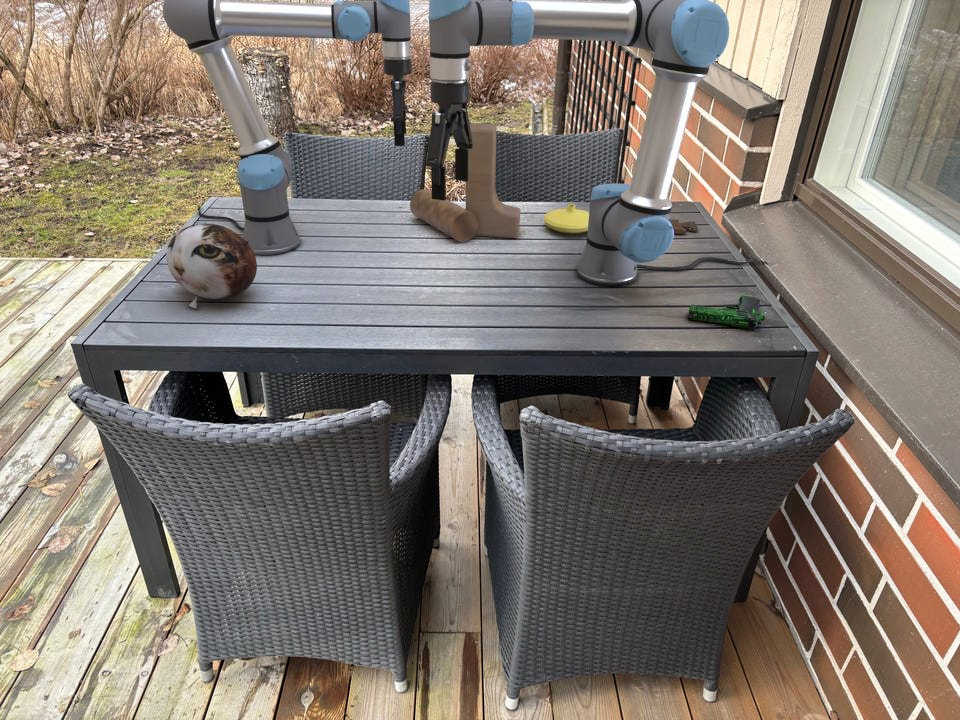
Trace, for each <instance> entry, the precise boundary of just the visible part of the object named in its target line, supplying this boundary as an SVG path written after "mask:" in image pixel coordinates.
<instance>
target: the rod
mask: <svg viewBox="0 0 960 720" xmlns="http://www.w3.org/2000/svg"><path fill="white" fill-rule="evenodd" d="M409 209H410V212H411V215H413V216H414V217H415V218H417V219H419V220H421V221H422V222H424V223H426V224H428V225H429V226H431V227H433V228H434V229H436V230H437V231H440V232H441V233H443V234H445V235H447V236H448V237H451V238H452V239H454V240H456V241H457V242H459V243H467V242H469V241H471V240H472V239H473V238H474V237H476V236H475V234H476V232H477V230H478V218H477V216H476V215H475V214H474V213H472V212H470V211H468V210H467V209H466V207H465V208H464V207H463V206H461V205H459V204H457V203H454V202H453V201H451V200H449V199H447V198H446V200H445V201H444V200H436V199H432V190H430V189H426V188H423V189H418V191H416V192H415V193H414V194H413V195H412V197H411V199H410V203H409Z"/></svg>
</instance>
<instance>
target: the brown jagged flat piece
mask: <svg viewBox="0 0 960 720" xmlns="http://www.w3.org/2000/svg"><path fill="white" fill-rule="evenodd" d="M668 221H670V222H671V224H672V227H673V229H674V234H682V235H683V234H685V233H687V231H689V232H694V233H696V232H697V231H698V229H697V228H698V227H697V223H696V221H692V220H691V221H686V222H685V221H684V222H680V219H671V218H669V220H668ZM689 228H691V229H689ZM694 229H697V230H694Z"/></svg>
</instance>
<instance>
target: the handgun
mask: <svg viewBox="0 0 960 720" xmlns="http://www.w3.org/2000/svg"><path fill="white" fill-rule="evenodd" d="M738 303H739V305H737V306H730V305H725V306H724V307H723V308H715V307H708V306H700V305H695V304H691V305H690V306H689V307H688V312H687V313H688V314H687V319H688V320H692V321H693V320H694V321H698V322H699V321H700V322H707V323H714V324H720V325H727V326H731V327H736V328H741V329H745V330H749V331H754V330H756V328H757V327H758V325H759V326H762V323H763V321H765V319H766V316H765V314H763V313H761V312H758V311H759V309H760V307H761V306H760V305H761V299H760V298H759V297H756V296H749V295H740V297H739V298H738Z"/></svg>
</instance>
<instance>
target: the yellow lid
mask: <svg viewBox="0 0 960 720" xmlns="http://www.w3.org/2000/svg"><path fill="white" fill-rule="evenodd" d="M588 221H589V211H587V210H584V209H578V208H576V205H575V204H571V203H570V204H567V208H557V209H552V210H549V211H548V212H547V213H545V214H544V216H543V222H544V225H545V226H546V227H548V228H550V229H551V230H554V231H556V232H559V233H564V234H580V233H584V232H585V233H586V232H588Z"/></svg>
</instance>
